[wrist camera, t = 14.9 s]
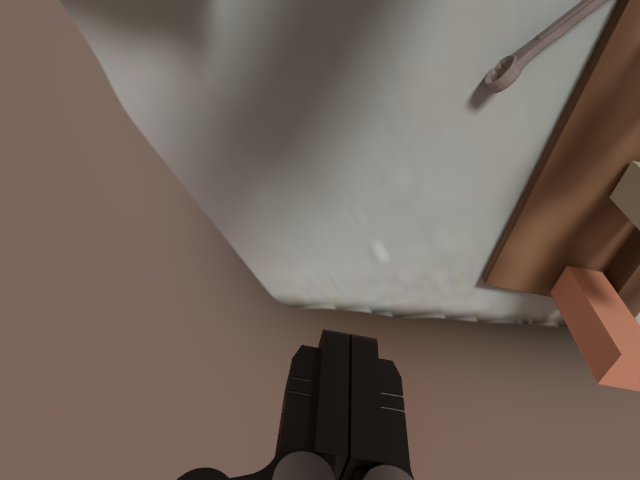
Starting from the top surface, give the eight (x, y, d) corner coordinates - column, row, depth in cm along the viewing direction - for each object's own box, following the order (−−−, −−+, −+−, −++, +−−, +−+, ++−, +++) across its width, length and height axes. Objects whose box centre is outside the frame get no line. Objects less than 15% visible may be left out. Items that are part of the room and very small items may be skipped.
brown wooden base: (482, 276, 47) (493, 307, 44) (629, -20, 32) (665, -13, 28) (606, 300, 48) (627, 331, 44) (808, 20, 33) (866, 32, 29)
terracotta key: (550, 292, 46) (597, 383, 37) (567, 265, 44) (621, 354, 35) (583, 299, 46) (639, 391, 37) (602, 272, 44) (665, 362, 35)
